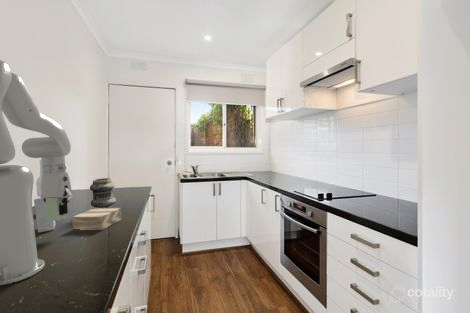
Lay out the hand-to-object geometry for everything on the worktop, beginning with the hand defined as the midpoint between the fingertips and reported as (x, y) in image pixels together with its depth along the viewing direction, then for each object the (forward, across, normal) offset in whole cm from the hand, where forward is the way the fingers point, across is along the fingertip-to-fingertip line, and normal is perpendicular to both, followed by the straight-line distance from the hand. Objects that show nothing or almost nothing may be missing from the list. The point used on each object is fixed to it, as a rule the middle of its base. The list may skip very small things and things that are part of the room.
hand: (57, 213), depth 98 cm
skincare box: (+9, +14, -7) cm, 18 cm away
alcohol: (+8, +40, -30) cm, 50 cm away
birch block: (+9, -6, -14) cm, 18 cm away
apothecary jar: (+8, +6, -33) cm, 35 cm away
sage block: (+2, 0, 0) cm, 2 cm away
